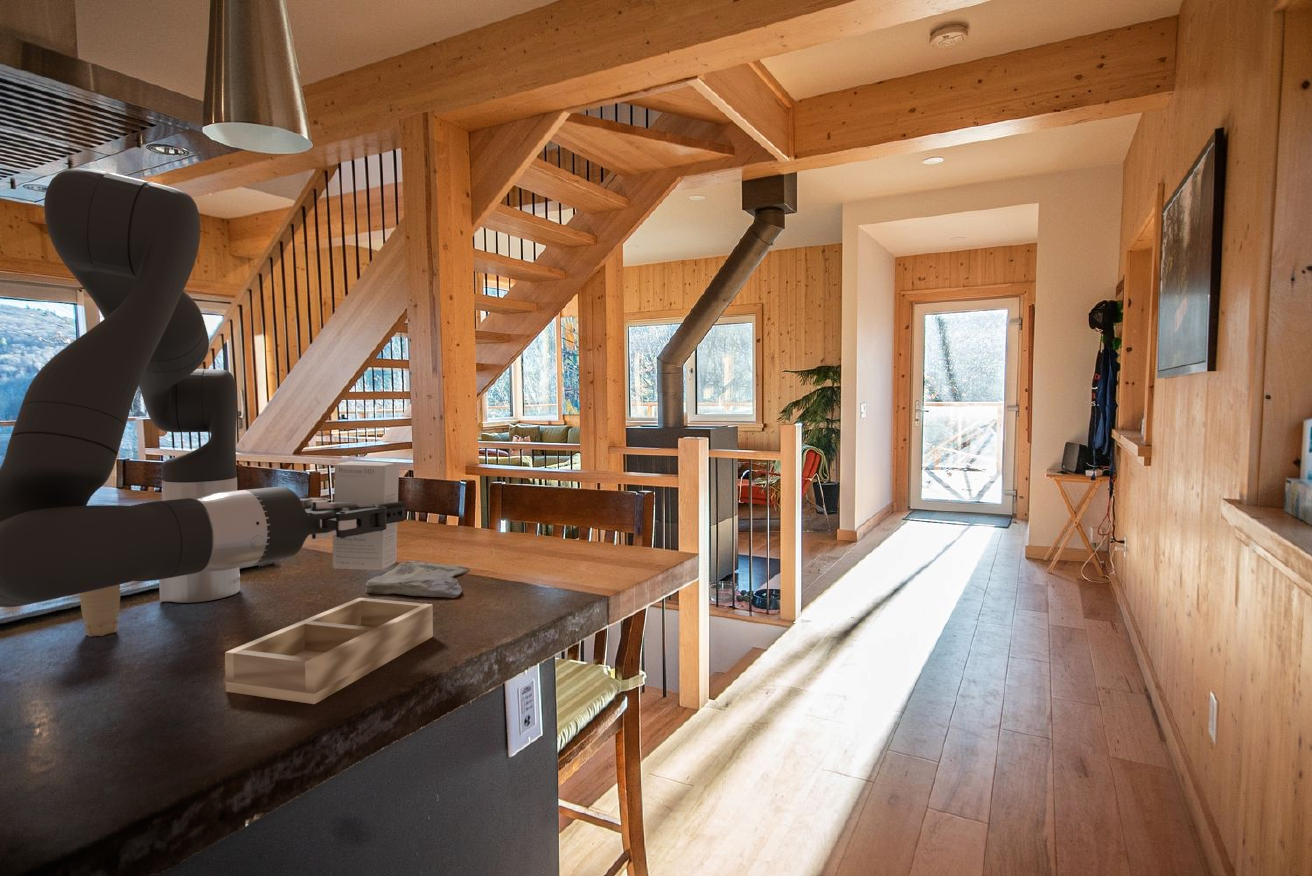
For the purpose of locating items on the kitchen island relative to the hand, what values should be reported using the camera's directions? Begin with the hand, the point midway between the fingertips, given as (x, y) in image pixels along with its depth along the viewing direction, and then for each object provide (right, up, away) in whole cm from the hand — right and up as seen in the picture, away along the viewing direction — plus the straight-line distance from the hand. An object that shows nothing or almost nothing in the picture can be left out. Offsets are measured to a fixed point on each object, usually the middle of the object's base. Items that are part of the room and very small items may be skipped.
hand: (381, 508), depth 84 cm
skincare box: (-1, -7, -2) cm, 7 cm away
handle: (-36, -16, +3) cm, 39 cm away
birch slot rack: (-2, -16, -5) cm, 17 cm away
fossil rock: (-4, -15, +28) cm, 32 cm away
